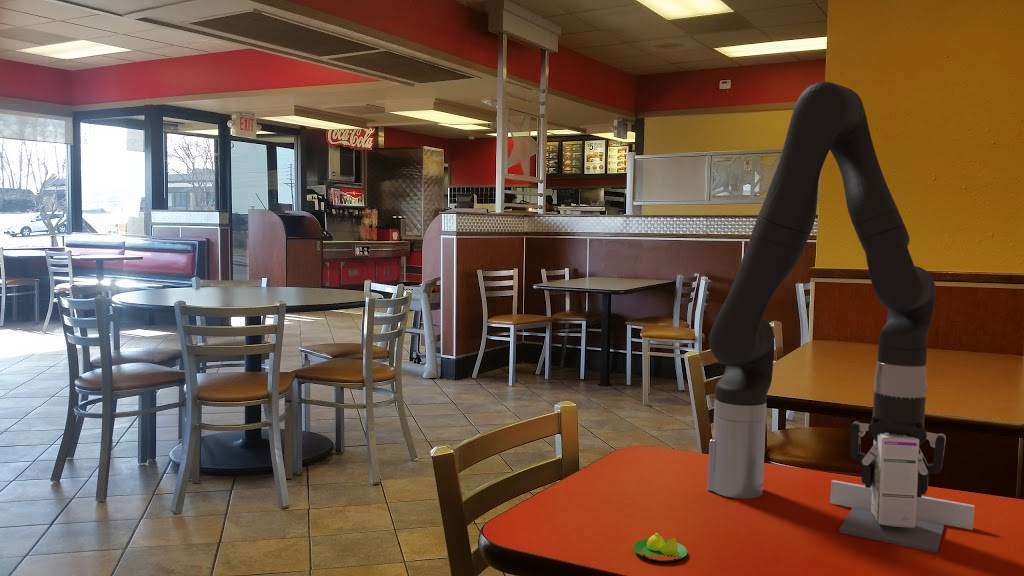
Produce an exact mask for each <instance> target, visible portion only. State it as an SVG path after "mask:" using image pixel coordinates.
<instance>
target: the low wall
mask: <svg viewBox="0 0 1024 576" xmlns="http://www.w3.org/2000/svg"><path fill="white" fill-rule="evenodd" d="M871 488H872V486H871ZM871 488H866V487H865V485H864V484H858V483H857V484H856V483H851V482H846V481H841V480H835V479H831V484H830V499H829V500H830V501H829V504H832V505H837V506H843V507H847V508H851V509H852V508H853V507H854V508H860V509H865V510H870V511H871ZM916 519H917V520H922V521H927V522H932V523H937V524H942V525H944V526H950V527H957V528H960V529H966V530H971V531H972V530H974V522H975V521H974V520H975V505H974V504H969V503H963V502H960V501H959V502H958V501H952V500H948V499H940V498H937V497H936V498H935V497H930V496H924V495H922V497H921V498H920V497H917V505H916Z"/></svg>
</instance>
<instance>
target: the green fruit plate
mask: <svg viewBox="0 0 1024 576" xmlns="http://www.w3.org/2000/svg"><path fill="white" fill-rule="evenodd" d="M642 549H643V551H642V552H640V551H641V550H642ZM633 550H634V551H635V552H636V554H638V555H640V556H642V557H644V556H643V555H642V554H641V553H643V552H644V553H645V554H646V556H647V555H649V554H650V555H652V554H654V556H656V555H657V554H658V556H659V555H661V554H662V555H664V554H665V555H667V556H668V557H669V556H671V557H672V556H674V557H676V556H677V555H679V558H678V559H676V560H680V559H683V558H684V557H685V556H687V554H688V549H687V547H686V546H684V545H682V544H681V543H679V542H677V540H676V538H675V537H673V538H671V539H664V538H663V537H662V536H661V535H660V534H659V532H656V533H654V534H653V535H651V536H650V537H649V538H646V539H645V538H644V539H640V540H638V541H636V542H635V543H634V544H633ZM645 551H646V552H645ZM644 553H643V554H644ZM650 555H649V556H650ZM662 555H661V556H662ZM665 555H664V556H665ZM656 557H657V556H656ZM645 558H646V559H649V560H652V561H655V559H651V558H647V557H645ZM654 558H655V557H654ZM676 560H675V561H676ZM656 561H657V562H673V561H674V560H656Z"/></svg>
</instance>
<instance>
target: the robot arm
mask: <svg viewBox="0 0 1024 576" xmlns="http://www.w3.org/2000/svg"><path fill="white" fill-rule="evenodd" d="M829 151H830V152H831V155H832V156H833V158H834V160H835V161H836V164H837V166H838V169H839V172H840V174H841V179H842V183H843V189H844V195H845V202H846V207H847V212H848V215H849V218H850V221H851V223H852V226H853V228H854V232H855V233H856V236H857V238H858V241H859V242H860V244H861V245H860V246H861V247H862V249H863V251H864V253H865V257H866V264H867V268H868V275H869V277H870V282H871V285H872V288H873V291H874V292H875V295H876V297H877V299H878V300H879V302H880V303H881V304H882V305H883V306H884V307H885V308H886V309H887V314H886V322H885V324H884V326H883V327H882V328H881V329H880V332H879V335H878V343H877V345H878V347H877V360H876V361H877V362H876V368H875V373H874V384H873V386H874V387H873V400H872V401H873V402H872V403H873V405H872V418H871V422H870V423H862V422H860V421H859V420H855V421H854V422H852V424H851V425H850V443H849V444H850V449H849V450H850V458H851V459H852V460H856V461H858V462H859V463H860V464H861V483H862V484H863V485H864V484H865V485H864V486H865V487H866V488H871V487H872V474H873V459H874V458H875V457H876V455H877V454H878V441H877V434H880V433H883V435H891V434H898V435H902V436H904V437H908V436H909V437H914V438H918V439H919V446H921V445H922V444H923V443H924V442H925V441H926V440H928V441H929V445H930V447H932V448H933V449H934V453H933V459H932V463H928V462H927V460H926V458H925V456H924V454H923V452H922V450H921V448H920V447H919V456H918V484H917V497H920V498H921V497H922V496H924V495H926V494H927V492H928V489H929V475H930V474H940V473H941V472H942V469H943V466H944V456H945V450H946V441H947V440H946V439H947V436H946V433H943V432H940V433H933V432H928V431H927V429H926V426H925V417H926V416H925V415H926V400H927V399H926V397H927V391H928V382H927V381H928V378H927V354H928V353H927V352H928V335H929V330H930V327H931V326H930V325H931V321H932V318H933V313H934V308H935V303H936V283H935V280H934V277H932V275H931V274H930V272H928V270H926V269H924V268H922V267H920V266H917V265H916V266H915V263H914V261H913V259H912V256H911V254H910V251H909V247H908V246H909V244H910V239H911V238H910V235H909V231H908V229H907V227H906V224H905V221H904V220H903V218H902V215H901V214H900V211H899V209H898V207H897V204H896V201H895V200H894V197H893V195H892V193H891V191H890V188H889V186H888V183H887V181H886V178H885V176H884V174H883V172H882V169H881V168H882V167H881V166H880V162H879V160H878V157H877V154H876V150H875V146H874V143H873V139H872V136H871V131H870V127H869V123H868V118H867V114H866V110H865V107H864V103H863V101H862V98H861V97H860V95H859V94H858V93H857V92H855V91H854V90H853V89H852V88H849V87H847V86H843V85H840V84H838V83H834V82H830V81H819V82H815V83H813V84H811V85H809V86H807V88H805V90H803V91H802V93H801V94H800V95H799V97H798V98H797V101H796V102H795V104H794V107H793V110H792V114H791V117H790V121H789V125H788V128H787V133H786V137H785V141H784V144H783V148H782V150H781V155H780V158H779V161H778V164H777V166H776V169H775V172H774V174H773V177H772V179H771V182H770V185H769V188H768V190H767V193H766V195H765V197H764V200H763V203H762V205H761V208H760V210H759V212H758V216H757V217H756V220H755V223H754V226H753V229H752V230H751V235H750V238H749V240H748V243H747V246H746V248H745V251H744V253H743V257H742V259H741V262H740V265H739V267H738V270H737V272H736V276H735V278H734V281H733V284H732V286H731V287H730V288H731V289H730V290H729V292H728V294H727V296H726V298H725V301H724V302H723V304H722V306H721V308H720V311H719V312H718V313H717V317H716V319H715V320H714V322H713V325H712V326H711V330H710V333H709V342H708V343H709V348H710V351H711V355H712V356H713V357H714V358H715V360H716V361H717V362H718V363H720V364H722V365H725V369H724V372H723V374H722V377H720V378H719V379H718V381H717V382H716V384H715V386H714V406H713V407H714V408H713V431H712V432H713V433H712V434H713V435H712V436H713V437H712V438H711V439H709V443H708V466H707V467H708V468H707V491H711V492H714V493H716V494H717V495H720V496H723V497H726V498H727V497H728V498H732V499H754V498H758V497H759V498H760V497H761V496H762V495H763V490H764V487H763V486H764V469H765V468H764V467H765V466H764V464H765V443H766V442H765V441H766V422H767V421H766V420H767V401H768V400H767V398H768V392H769V389H771V384H772V380H773V372H774V371H773V370H774V361H775V345H776V343H775V334H774V333H775V332H774V331H773V326H772V325H771V323H770V322H769V320H768V319H767V318H765V316H764V315H765V312H766V310H767V308H768V305H769V303H770V301H771V299H772V297H773V296H774V295H775V293H776V292H777V290H778V289H779V287H780V286H781V285H782V284H783V282H784V281H785V280H786V279H787V277H788V276H789V275H790V273H791V272H792V271H793V269H794V268H795V266H796V265H797V264H798V262H799V260H800V258H801V257H802V255H803V252H804V250H805V249H806V245H807V243H808V240H809V238H810V236H811V232H812V230H813V229H814V225H815V222H816V217H817V208H818V191H819V182H820V181H819V180H820V176H821V173H822V168H823V166H824V164H825V161H826V158H828V157H827V156H828V155H829ZM866 432H869V434H870V435H871V437H872V438H873V441H874V440H875V441H876V443H875V445H874V444H873V445H872V447H871V448H870V449H869V450H868V452H867V453H865V452H863V451H862V437H864V436H865V434H866Z"/></svg>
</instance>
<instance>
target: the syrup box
mask: <svg viewBox="0 0 1024 576" xmlns="http://www.w3.org/2000/svg"><path fill="white" fill-rule="evenodd" d="M877 441H878V454H877V455H876V457H875V458H874V459H873V460H872V463H873V474H872V486H871V487H872V488H871V511H870V512H871V514H872V515H873V517H874V518H875V519H876V521H877V523H878V524H881V525H887V526H897V527H911V528H915V521H916V505H917V484H918V473H919V470H918V456H919V448H920V445H919V439H918V438H914V437H909V436H908V437H904V436H902V435H898V434H891V435H883V433H880V434H877ZM875 443H876V441H875V440H874V439H873V445H875Z"/></svg>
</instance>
